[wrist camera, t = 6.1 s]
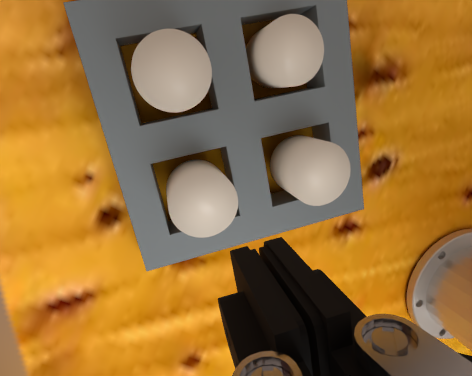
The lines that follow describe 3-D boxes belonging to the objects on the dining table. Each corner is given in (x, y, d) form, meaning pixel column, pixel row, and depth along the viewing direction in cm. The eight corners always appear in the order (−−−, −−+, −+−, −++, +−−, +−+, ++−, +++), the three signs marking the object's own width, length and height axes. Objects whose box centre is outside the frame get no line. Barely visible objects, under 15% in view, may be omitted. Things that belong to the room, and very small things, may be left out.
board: (322, -23, 25) (343, -39, 22) (344, 198, 30) (363, 208, 28) (75, 15, 22) (63, 2, 19) (147, 253, 27) (146, 271, 25)
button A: (295, 22, 25) (320, 8, 21) (302, 82, 26) (327, 79, 23) (239, 32, 24) (255, 19, 21) (250, 93, 26) (266, 92, 22)
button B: (319, 129, 26) (347, 134, 22) (325, 183, 27) (353, 196, 23) (265, 142, 25) (285, 149, 21) (274, 196, 26) (294, 213, 22)
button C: (194, 35, 22) (202, 22, 18) (208, 103, 23) (218, 103, 19) (127, 47, 21) (121, 35, 17) (145, 116, 22) (143, 119, 19)
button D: (219, 153, 24) (230, 163, 21) (230, 208, 26) (243, 227, 22) (159, 167, 24) (159, 180, 20) (174, 223, 25) (177, 245, 21)
